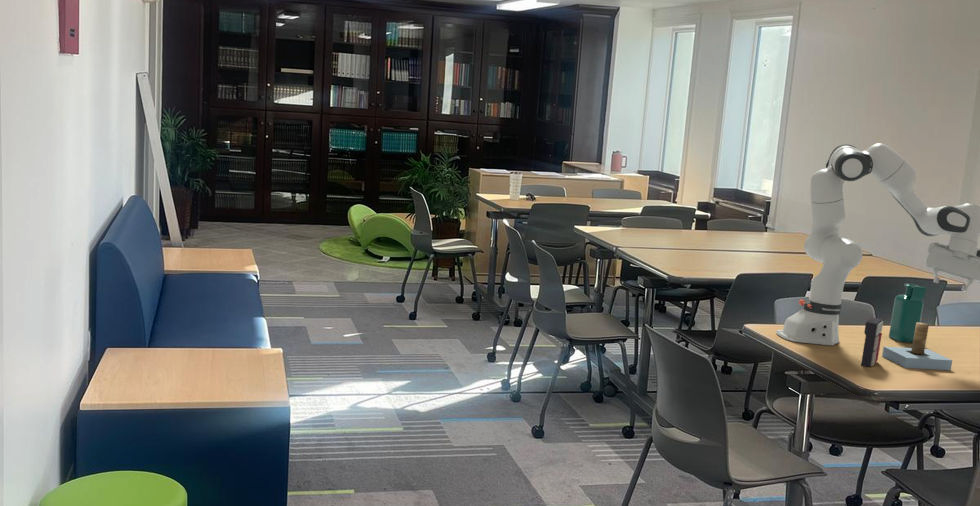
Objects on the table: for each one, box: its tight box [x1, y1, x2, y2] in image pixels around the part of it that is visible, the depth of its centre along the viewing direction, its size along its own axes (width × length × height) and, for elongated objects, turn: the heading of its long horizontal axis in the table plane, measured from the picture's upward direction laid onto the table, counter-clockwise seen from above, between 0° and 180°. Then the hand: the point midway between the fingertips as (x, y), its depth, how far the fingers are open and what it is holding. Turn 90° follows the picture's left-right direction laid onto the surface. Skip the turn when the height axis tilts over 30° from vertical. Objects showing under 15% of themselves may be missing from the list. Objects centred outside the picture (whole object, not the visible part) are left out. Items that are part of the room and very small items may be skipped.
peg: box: [911, 322, 930, 356], centre depth 319 cm, size 4×4×14 cm
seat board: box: [881, 346, 953, 371], centre depth 320 cm, size 17×14×4 cm
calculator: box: [860, 316, 884, 368], centre depth 312 cm, size 11×4×15 cm, turn 148°
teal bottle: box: [888, 283, 927, 344], centre depth 353 cm, size 10×8×22 cm
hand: (949, 286), depth 325 cm, fingers open, 8 cm apart
